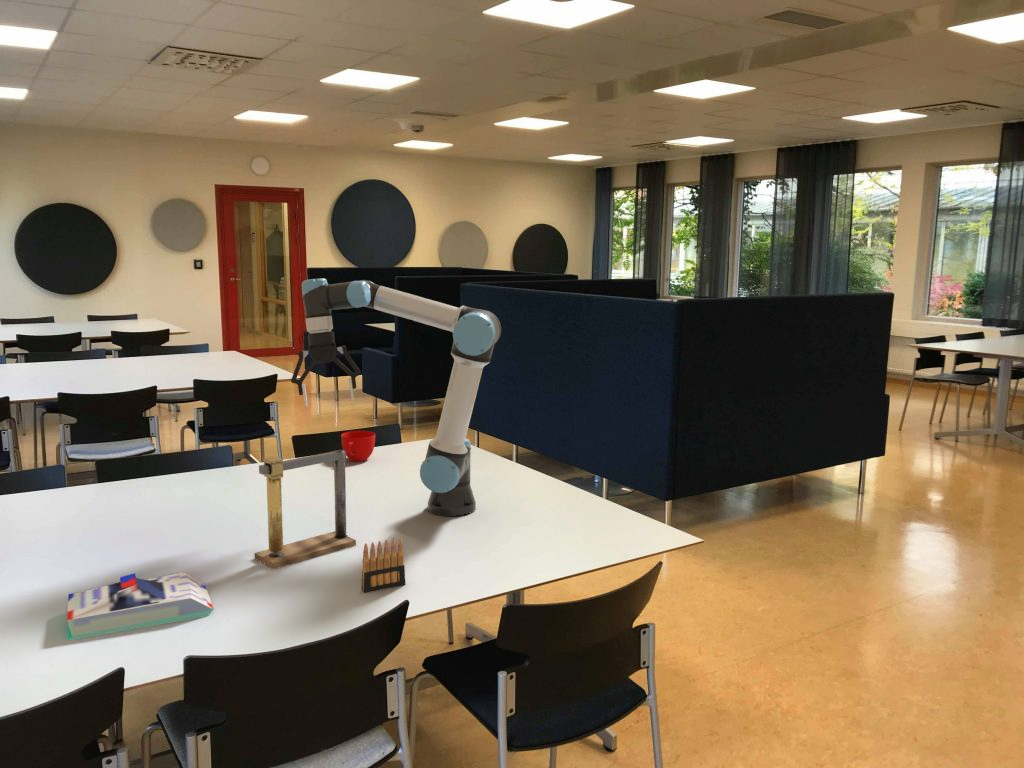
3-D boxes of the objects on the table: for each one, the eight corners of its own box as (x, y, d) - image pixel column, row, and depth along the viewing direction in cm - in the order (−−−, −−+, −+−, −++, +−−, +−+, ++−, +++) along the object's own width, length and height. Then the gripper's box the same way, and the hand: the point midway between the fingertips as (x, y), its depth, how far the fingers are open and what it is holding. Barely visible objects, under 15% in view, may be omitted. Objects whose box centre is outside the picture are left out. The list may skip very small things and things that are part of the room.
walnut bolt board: (336, 535, 233) (336, 530, 233) (357, 544, 226) (357, 539, 226) (254, 558, 215) (254, 552, 215) (274, 569, 208) (273, 563, 208)
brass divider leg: (278, 548, 217) (275, 456, 213) (286, 553, 214) (283, 459, 210) (265, 552, 214) (262, 458, 210) (274, 556, 211) (270, 461, 207)
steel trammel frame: (342, 534, 230) (340, 449, 226) (348, 536, 228) (347, 451, 224) (261, 556, 213) (257, 465, 209) (266, 559, 211) (263, 467, 207)
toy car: (63, 613, 183) (60, 575, 182) (205, 589, 197) (203, 555, 195) (60, 645, 168) (57, 605, 167) (214, 618, 182) (212, 580, 180)
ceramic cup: (332, 465, 308) (332, 439, 307) (348, 454, 325) (348, 430, 323) (365, 467, 306) (365, 441, 304) (380, 456, 323) (379, 431, 321)
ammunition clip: (363, 593, 195) (363, 545, 193) (361, 590, 196) (360, 542, 194) (405, 584, 200) (405, 537, 198) (402, 582, 202) (402, 535, 200)
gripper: (362, 327, 247) (371, 396, 249) (277, 336, 242) (287, 407, 244) (363, 327, 239) (372, 398, 241) (275, 336, 235) (285, 409, 237)
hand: (329, 403), depth 243 cm, fingers open, 13 cm apart
